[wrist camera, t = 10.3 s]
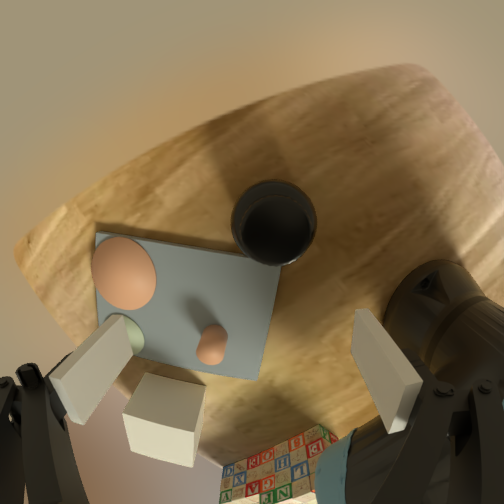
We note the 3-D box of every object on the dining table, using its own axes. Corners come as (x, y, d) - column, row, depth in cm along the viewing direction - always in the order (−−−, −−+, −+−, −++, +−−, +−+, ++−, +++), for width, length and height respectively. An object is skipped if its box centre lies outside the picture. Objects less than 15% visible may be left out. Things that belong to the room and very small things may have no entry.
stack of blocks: (245, 477, 42) (241, 526, 30) (222, 466, 41) (215, 517, 29) (338, 437, 38) (352, 493, 26) (319, 422, 37) (331, 483, 25)
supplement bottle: (233, 186, 29) (214, 187, 18) (297, 175, 29) (320, 169, 17) (245, 248, 31) (235, 288, 19) (307, 238, 30) (334, 271, 19)
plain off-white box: (206, 385, 35) (194, 432, 27) (202, 424, 38) (192, 467, 29) (145, 371, 35) (122, 412, 27) (148, 411, 38) (131, 451, 29)
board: (281, 260, 31) (284, 275, 26) (257, 375, 35) (256, 401, 30) (97, 230, 31) (73, 238, 26) (101, 340, 35) (84, 359, 30)
